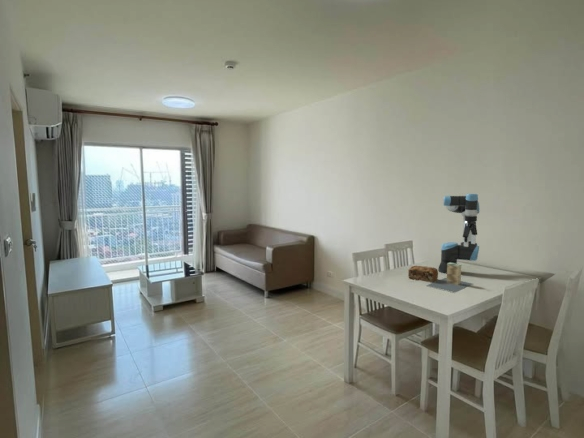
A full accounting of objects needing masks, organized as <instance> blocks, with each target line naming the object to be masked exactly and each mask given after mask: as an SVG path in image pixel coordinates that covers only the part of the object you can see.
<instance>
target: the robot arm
mask: <svg viewBox="0 0 584 438" xmlns="http://www.w3.org/2000/svg"><path fill="white" fill-rule="evenodd" d="M443 206H445V208H446V209H447V210H448V211H449V212H452V213H456V214H461V216H462V217H463V221H462V222H463V224H462V228H463V229H462V241H461V242H460V244H458V242H444V243H443V244H441V247H440V248H441V249H440V250H441V251H440V252H441V254H440V256H441V257H440V263H439V265H438V269H437V270H438V273H442V274H447V263H456V264H458V260H459V261H470V262H472V261H477V260H478V257H479V251H480V245H478V243H477V242H476V238H477V235H478V229H477V221H478V214H480V202H479V194H477V193H467V194H465V195H445V196H443Z"/></svg>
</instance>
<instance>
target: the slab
mask: <svg viewBox="0 0 584 438" xmlns="http://www.w3.org/2000/svg"><path fill="white" fill-rule="evenodd" d="M446 278H447V283H451V284H455V285H459V284H461V281H462V264H461V263H457V264H456V263H447V273H446Z"/></svg>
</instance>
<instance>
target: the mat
mask: <svg viewBox="0 0 584 438" xmlns="http://www.w3.org/2000/svg"><path fill="white" fill-rule="evenodd" d="M425 286H426V287H428V288H433V289H437V290H441V291H444V292H447V293H449V292H450V293H452V294H454V293H457V292H460V291H461V290H463V289H464V290H465V289H466V288H468V287H470V286H473V283H471V282H468V281H463V280H461V284H459V285H455V284H451V283H447V277H444V278H442V279H440V280H436V281H434V282H430V283H429V284H427V285H425Z"/></svg>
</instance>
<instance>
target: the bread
mask: <svg viewBox="0 0 584 438" xmlns="http://www.w3.org/2000/svg"><path fill="white" fill-rule="evenodd" d="M407 271H408V272H407V273H408V274H407V275H408V280H409V279H410V280H415V281H423V282H427V283H434V282H436V281H438V279H439V271H438V269H437V268H435V267H431V266H423V265H422V266H421V265H412V266H411V267H409V268H408V270H407Z"/></svg>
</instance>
